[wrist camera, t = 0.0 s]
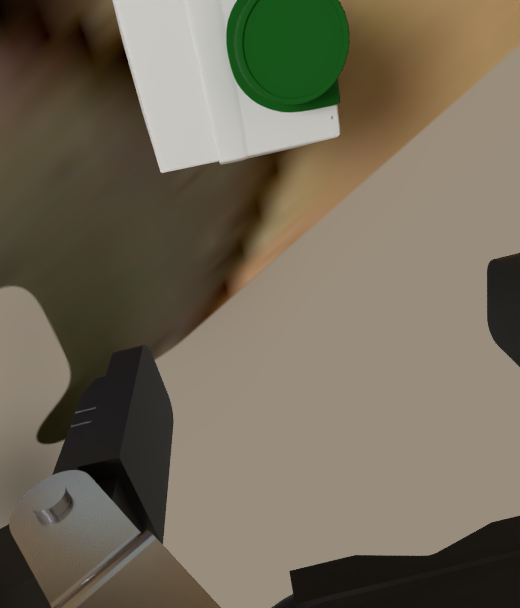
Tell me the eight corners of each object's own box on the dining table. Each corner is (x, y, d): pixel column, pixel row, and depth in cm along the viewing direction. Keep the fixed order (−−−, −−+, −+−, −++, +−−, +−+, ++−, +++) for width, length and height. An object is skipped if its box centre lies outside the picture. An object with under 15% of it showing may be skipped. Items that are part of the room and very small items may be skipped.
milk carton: (290, 108, 37) (370, 157, 19) (172, 133, 37) (142, 205, 19) (270, -30, 33) (348, -133, 15) (138, -2, 33) (57, -73, 15)
